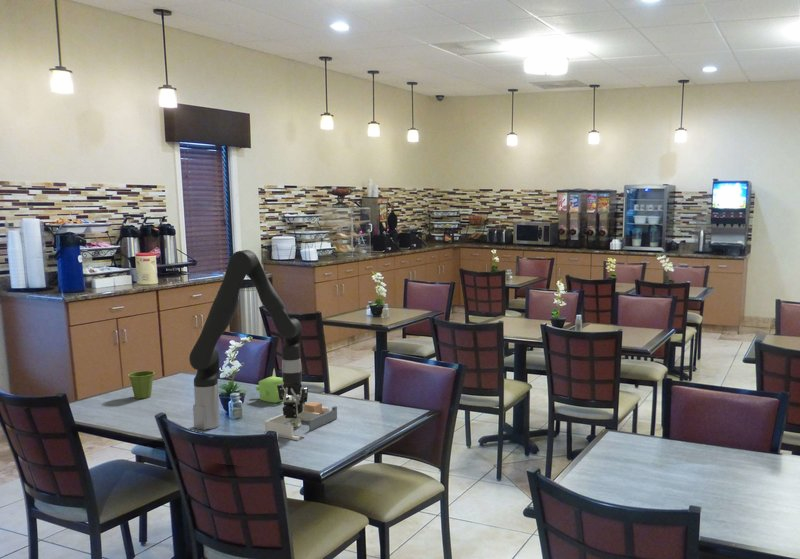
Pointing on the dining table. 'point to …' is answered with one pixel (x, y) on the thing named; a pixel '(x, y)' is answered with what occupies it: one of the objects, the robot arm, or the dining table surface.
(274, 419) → the tray
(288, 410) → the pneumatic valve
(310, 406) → the block
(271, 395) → the lime green lidded box
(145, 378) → the plant pot
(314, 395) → the dining table surface
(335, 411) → the grey flat board
